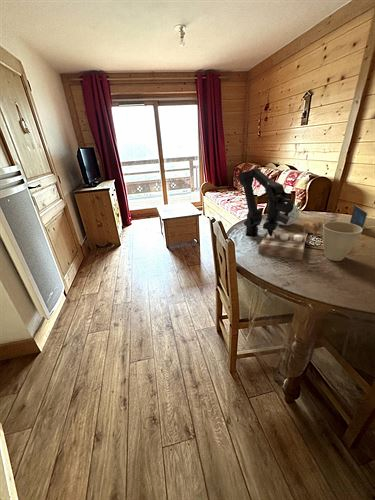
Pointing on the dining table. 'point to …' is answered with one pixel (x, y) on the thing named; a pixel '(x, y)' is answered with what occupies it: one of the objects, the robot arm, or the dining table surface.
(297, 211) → the puzzle ball
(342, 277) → the dining table surface
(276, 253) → the button board
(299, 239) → the button right
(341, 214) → the dining table surface
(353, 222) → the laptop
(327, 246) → the plant pot
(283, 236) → the button middle
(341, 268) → the dining table surface
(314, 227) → the lion figurine
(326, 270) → the dining table surface
